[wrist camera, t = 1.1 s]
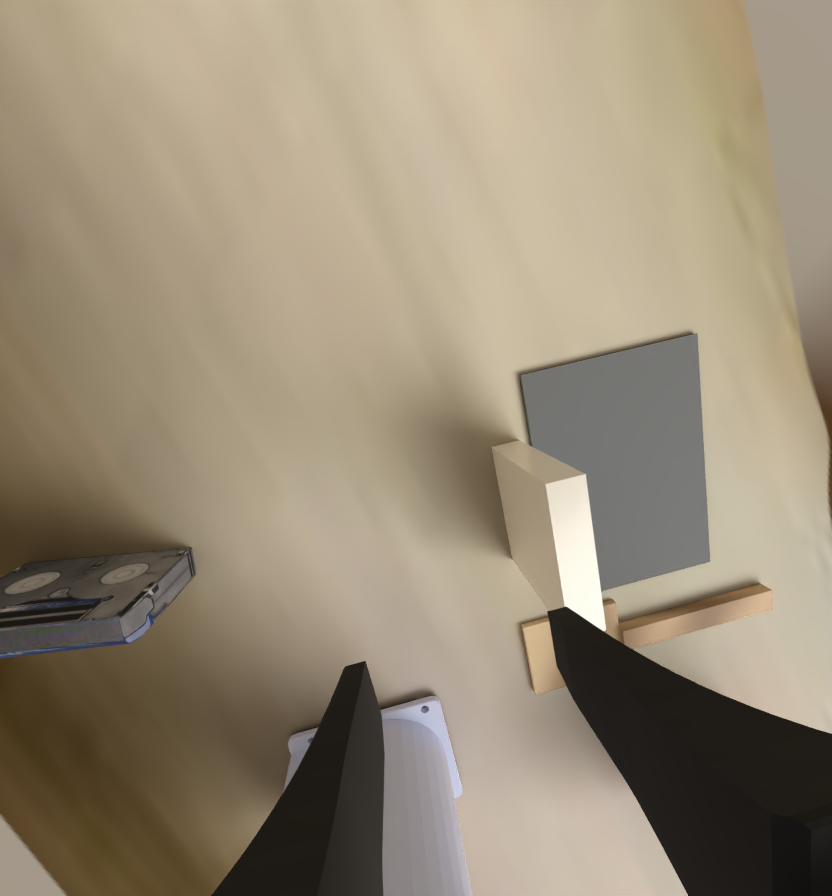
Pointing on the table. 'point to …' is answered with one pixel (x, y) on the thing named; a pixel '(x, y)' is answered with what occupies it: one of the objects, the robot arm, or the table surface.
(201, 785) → the table surface
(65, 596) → the mini dv tape
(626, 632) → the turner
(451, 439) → the table surface
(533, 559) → the tile
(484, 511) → the table surface
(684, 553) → the mat
